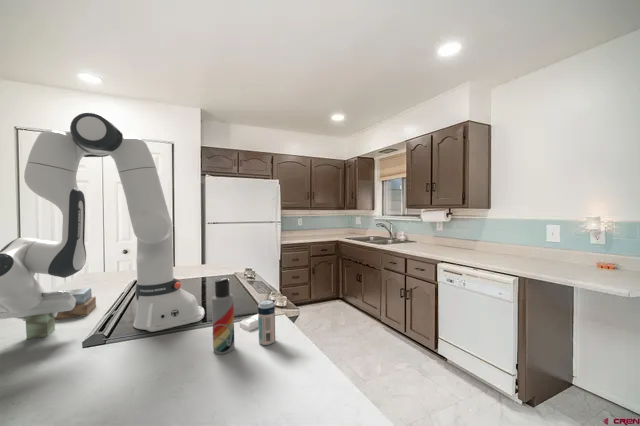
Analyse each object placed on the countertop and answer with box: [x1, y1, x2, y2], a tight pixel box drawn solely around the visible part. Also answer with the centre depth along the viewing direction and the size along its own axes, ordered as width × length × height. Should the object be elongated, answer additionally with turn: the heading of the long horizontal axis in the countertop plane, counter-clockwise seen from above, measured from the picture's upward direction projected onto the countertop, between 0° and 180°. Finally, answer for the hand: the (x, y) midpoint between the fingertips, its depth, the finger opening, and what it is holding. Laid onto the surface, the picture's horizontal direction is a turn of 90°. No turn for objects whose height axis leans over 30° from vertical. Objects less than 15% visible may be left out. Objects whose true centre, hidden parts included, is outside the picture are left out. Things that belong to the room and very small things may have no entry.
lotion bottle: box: [211, 278, 235, 355], centre depth 80 cm, size 6×6×20 cm
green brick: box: [25, 313, 56, 340], centre depth 91 cm, size 5×5×10 cm
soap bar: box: [239, 313, 258, 332], centre depth 97 cm, size 5×9×3 cm, turn 141°
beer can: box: [257, 299, 276, 346], centre depth 84 cm, size 5×5×12 cm
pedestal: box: [54, 287, 97, 320], centre depth 109 cm, size 10×10×8 cm
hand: (41, 316), depth 92 cm, fingers closed on green brick, 5 cm apart
